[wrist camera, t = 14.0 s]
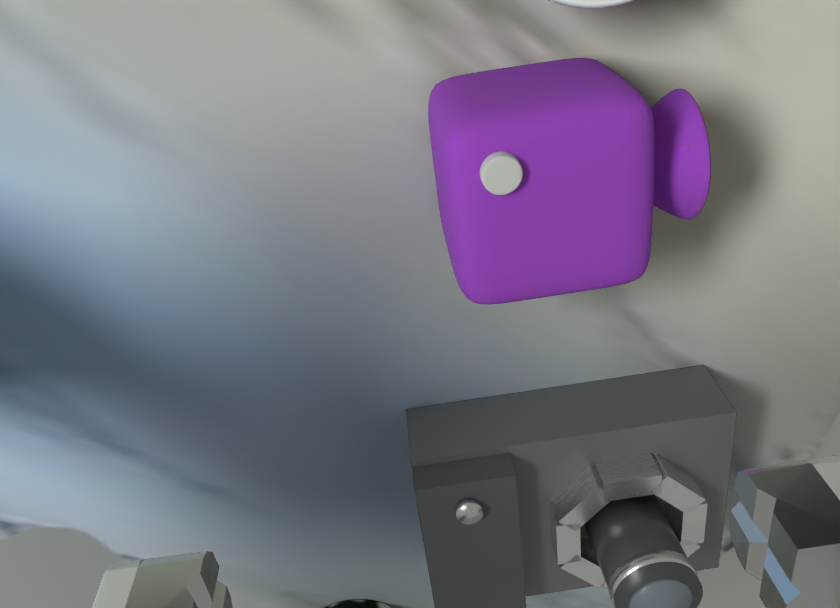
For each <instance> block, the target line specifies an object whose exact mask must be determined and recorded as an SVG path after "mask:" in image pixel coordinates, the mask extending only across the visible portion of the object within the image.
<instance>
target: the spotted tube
mask: <svg viewBox="0 0 840 608" xmlns="http://www.w3.org/2000/svg"><path fill="white" fill-rule="evenodd" d="M325 608H392V607H390V606H388V605H386V604H383V603H380V602H377V601H371V600H347V601H342V602H338V603H335V604H332V605H330V606H327V607H325Z"/></svg>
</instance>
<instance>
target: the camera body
mask: <svg viewBox="0 0 840 608" xmlns="http://www.w3.org/2000/svg"><path fill="white" fill-rule="evenodd" d="M406 416H407V425H408V435H409V445H410V454H411V463H412V470H413V479H414V489H415V495H416V501H417V507H418V513H419V518H420V524H421V530H422V536H423V541H424V547H425V553H426V559H427V564H428V570H429V576H430V582H431V587H432V593H433V599H434V605H435V608H526V599H525V596H531V595H538V594H544V593H551V592H557V591H564V590H571V589H577V588H584V587H591V586H596V587H600V586H601V585H603V588H608V587H607V584H606V581H605V579H604V576H603V574H602V571H601V568H600V566H599V563H598V560H597V558H596V555H595V553H594V550H593V547H592V545H591V542H590V540H589V537H588V534H587V532H586V529H585V526H584V524H585V523H586V522H587V521H588V520H589V519H590V518H592V517H593V516H594V515H595V514H596V513H597V512H599V511H600V510H601V509H602V508H603V507H604V506H605V505H607V504H608V503H609V502H610V501H613V500H620V499H627V498H633V497H640V496H647V495H653V494H655V496H656V498H657V500H658V502H659V504H660V506H661V508H662V509H663V511H664V513H665V515H666V517H667V519H668V521H669V523H670V525H671V527H672V529H673V531H674V533H675V535H676V537H677V539H678V540H679V542H680V544H681V546H682V548H683V550H684V552H685V554H686V556H687V558H688V560H689V561H690V562H691V564H692V566H693V568H694V570H695V571H696V570H703V569H710V568H716V567H718V566H719V558H720V549H721V541H722V533H723V524H724V516H725V508H726V499H727V491H728V483H729V474H730V466H731V458H732V449H733V441H734V433H735V425H736V416H737V411H736V410H735V409H734V407H733V406H732V404H731V403H730V402H729V400H728V399H727V397H726V396H725V395H724V393H723V392H722V390H721V389H720V388H719V386H718V385H717V383H716V382H715V380H714V379H713V378H712V376H711V375H710V373H709V372H708V371H707V369H706V368H705V366H704V365H700V366H693V367H687V368H680V369H673V370H666V371H660V372H653V373H646V374H640V375H633V376H626V377H619V378H613V379H606V380H599V381H593V382H586V383H579V384H572V385H566V386H559V387H552V388H546V389H539V390H532V391H525V392H519V393H512V394H505V395H499V396H492V397H485V398H479V399H472V400H465V401H458V402H452V403H445V404H438V405H432V406H425V407H418V408H411V409H406Z"/></svg>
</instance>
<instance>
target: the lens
mask: <svg viewBox="0 0 840 608" xmlns="http://www.w3.org/2000/svg"><path fill="white" fill-rule="evenodd" d="M584 526H585V529H586V532H587V534H588V537H589V540H590V542H591V545H592V547H593V550H594V553H595V555H596V558H597V560H598V563H599V566H600V568H601V571H602V574H603V576H604V579H605V581H606V584H607V587H608V590H609V594H610V597H611V600H612V602H613V605H614V607H615V608H697V606H698V605H699V603H700V601H701V599H702V594H703V591H702V590H703V589H702V585H701V583H700V581H699V578H698V576H697V573H696V571H695V570H694V568H693V566H692V564H691V562H690V561H689V560H688V558H687V556H686V554H685V552H684V550H683V548H682V546H681V544H680V542H679V540H678V539H677V537H676V535H675V533H674V531H673V529H672V527H671V525H670V523H669V521H668V519H667V517H666V515H665V513H664V511H663V509H662V508H661V506H660V504H659V502H658V500H657V498H656V496H655V494H653V495H647V496H640V497H633V498H627V499H620V500H613V501H610V502H609V503H608V504H607V505H605V506H604V507H603V508H602V509H601V510H600V511H599V512H597V513H596V514H595V515H594V516H593V517H592V518H590V519H589V520H588V521H587V522H586V523H585V524H584Z"/></svg>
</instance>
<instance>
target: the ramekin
mask: <svg viewBox="0 0 840 608" xmlns="http://www.w3.org/2000/svg"><path fill="white" fill-rule="evenodd" d="M549 1H552V2H555V3H558V4H561V5H565V6H569V7H577V8H605V7H612V6H617V5H622V4H625V3H628V2H631V1H634V0H549Z"/></svg>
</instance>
